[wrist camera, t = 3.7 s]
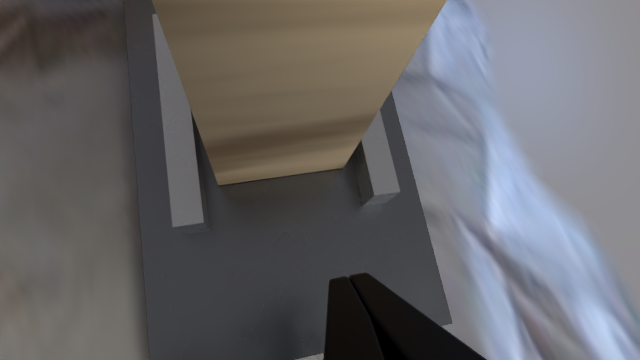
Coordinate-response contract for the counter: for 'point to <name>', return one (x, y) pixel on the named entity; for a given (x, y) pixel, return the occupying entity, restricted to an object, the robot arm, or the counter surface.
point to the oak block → (289, 76)
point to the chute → (261, 227)
